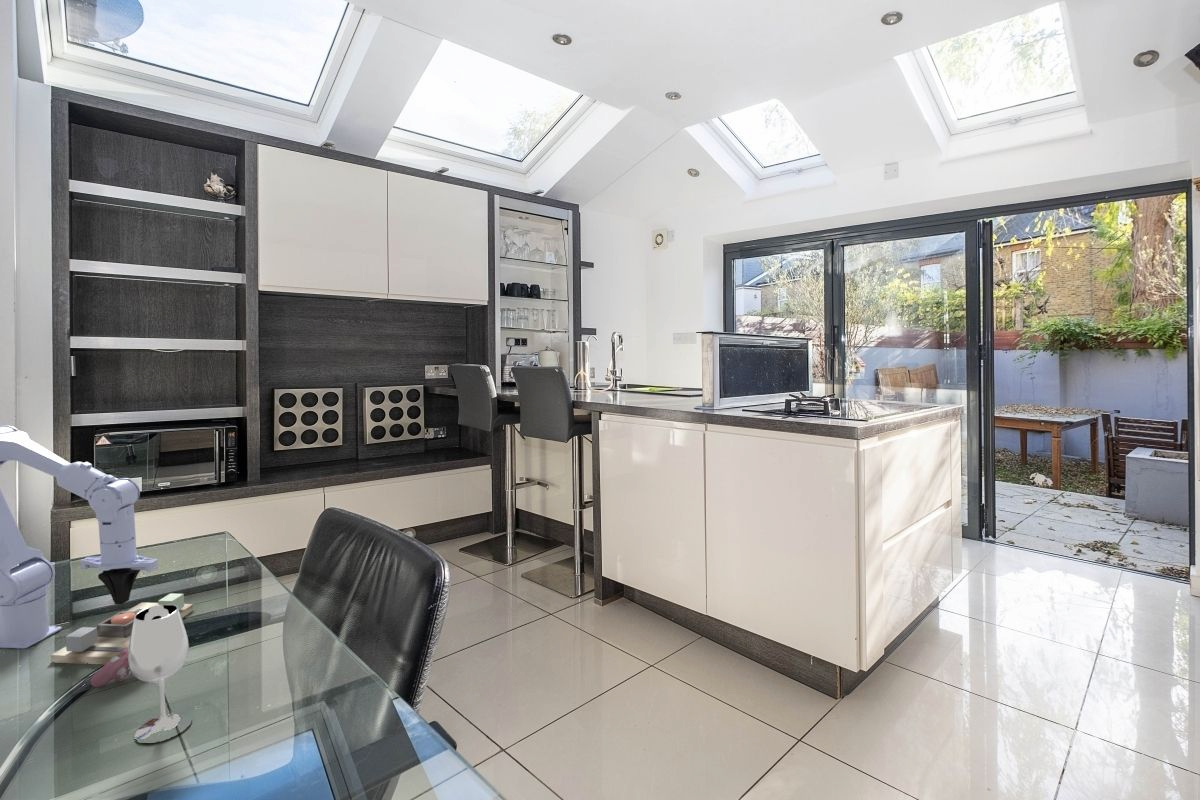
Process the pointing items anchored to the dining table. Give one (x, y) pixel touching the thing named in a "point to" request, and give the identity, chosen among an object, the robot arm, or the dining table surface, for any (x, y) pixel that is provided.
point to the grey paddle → (81, 639)
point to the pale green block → (173, 600)
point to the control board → (108, 639)
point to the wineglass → (157, 657)
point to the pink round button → (123, 618)
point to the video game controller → (112, 670)
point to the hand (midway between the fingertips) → (121, 602)
